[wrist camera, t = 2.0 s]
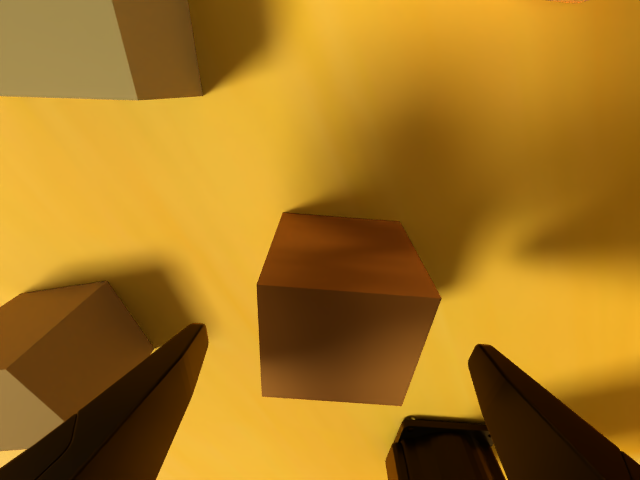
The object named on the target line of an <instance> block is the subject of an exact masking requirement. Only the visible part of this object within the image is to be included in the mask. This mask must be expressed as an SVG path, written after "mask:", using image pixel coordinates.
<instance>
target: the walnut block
mask: <svg viewBox="0 0 640 480" xmlns="http://www.w3.org/2000/svg"><path fill="white" fill-rule="evenodd" d="M440 301H441V297H440V295H439V293H438V291H437V289H436V287H435V285H434V284H433V282H432V280H431V278H430V276H429V274H428V273H427V271H426V269H425V267H424V265H423V263H422V262H421V260H420V258H419V256H418V254H417V252H416V250H415V249H414V247H413V245H412V243H411V241H410V239H409V238H408V236H407V234H406V232H405V230H404V228H403V226H402V225H401V223H400V222H399V221H386V220H373V219H360V218H347V217H334V216H321V215H308V214H295V213H283V214H282V216H281V219H280V222H279V225H278V227H277V230H276V233H275V236H274V238H273V241H272V244H271V247H270V249H269V252H268V255H267V258H266V260H265V263H264V266H263V269H262V271H261V274H260V277H259V280H258V282H257V302H258V323H259V344H260V365H261V386H262V396H263V397H277V398H292V399H306V400H321V401H336V402H350V403H365V404H379V405H394V406H402V404H403V401H404V398H405V396H406V393H407V390H408V387H409V385H410V382H411V379H412V377H413V374H414V371H415V368H416V366H417V363H418V360H419V358H420V355H421V352H422V350H423V347H424V344H425V341H426V339H427V336H428V333H429V331H430V328H431V325H432V323H433V320H434V317H435V314H436V312H437V309H438V306H439V304H440Z"/></svg>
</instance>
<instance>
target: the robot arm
mask: <svg viewBox="0 0 640 480" xmlns="http://www.w3.org/2000/svg"><path fill="white" fill-rule="evenodd" d="M207 348H208V336H207V330H206V326H205V324H203V323H192V324H190V325H188V326H187V327H186V328H184V329H183V330H182V331H181V332H179V333H178V334H177V335H175V336H174V337H173V338H172V339H170V340H169V341H168V342H166V343H165V344H164V345H163V346H161V347H160V348H159V349H157V350H156V351H155V352H154V353H152V354H151V355H150V356H148V357H147V358H146V359H144V360H143V361H142V362H141V363H139V364H138V365H137V366H135V367H134V368H133V369H132V370H130V371H129V372H128V373H126V374H125V375H124V376H123V377H121V378H120V379H119V380H117V381H116V382H115V383H113V384H112V385H111V386H110V387H108V388H107V389H106V390H104V391H103V392H102V393H101V394H99V395H98V396H97V397H95V398H94V399H93V400H92V401H90V402H89V403H88V404H86V405H85V406H84V407H83V408H81V409H80V410H79V411H78V413H75V414H73V415H72V416H71V417H69V418H68V419H67V420H66V421H64V422H63V423H62V424H60V425H59V426H58V427H56V428H55V429H54V430H52V431H51V432H50V433H48V434H47V435H46V436H44V437H43V438H42V439H40V440H39V441H38V442H36V443H35V444H34V445H32V446H31V447H30V448H28V449H27V450H25V451H24V452H23V453H21V454H20V455H18V456H17V457H15V458H14V459H13V460H11V461H10V462H8V463H7V464H6V465H4V466H3V467H1V468H0V480H156V478H157V476H158V473H159V471H160V469H161V467H162V464H163V462H164V460H165V457H166V455H167V453H168V450H169V448H170V446H171V444H172V441H173V439H174V437H175V434H176V432H177V430H178V427H179V425H180V423H181V421H182V418H183V416H184V414H185V411H186V409H187V407H188V405H189V402H190V400H191V397H192V395H193V392H194V389H195V386H196V383H197V380H198V376H199V373H200V370H201V367H202V364H203V361H204V358H205V354H206V351H207ZM468 367H469V371H470V374H471V378H472V381H473V385H474V388H475V391H476V395H477V398H478V402H479V405H480V409H481V412H482V415H483V417H484V420H485V423H486V425H484V424H469V423H455V422H440V421H425V420H405V421H403V422H402V423H401V426H400V428H399V431H398V433H397V436H396V438H395V441H394V443H393V444H392V445H391V448H390V451H389V453H388V456H387V458H386V461H385V462H386V469H387V475H388V480H506V479H505V477H504V475H503V472H502V470H501V468H500V466H499V464H498V461H497V459H496V457H495V455H494V453H493V450H492V448H491V446H492V445H493V444H494V446H495V448H496V451H497V453H498V456H499V458H500V461H501V463H502V466H503V468H504V471H505V473H506V476H507V478H508V480H640V465H639V464H638V463H637V462H636V461H634V460H633V459H632V458H631V457H629V456H628V455H627V454H626V453H624V452H623V451H620V449H619V448H618V447H617V446H616V445H614V444H613V443H612V442H611V441H609V440H608V439H607V438H606V437H604V436H603V435H602V434H601V433H599V432H598V431H597V430H596V429H595V428H593V427H592V426H591V425H590V424H588V423H587V422H586V421H585V420H583V419H582V418H581V417H580V416H578V415H577V414H576V413H575V412H573V411H572V410H571V409H570V408H568V407H567V406H566V405H565V404H563V403H562V402H561V401H560V400H559V399H557V398H556V397H555V396H554V395H552V394H551V393H550V392H549V391H547V390H546V389H545V388H544V387H542V386H541V385H540V384H539V383H537V382H536V381H535V380H534V379H532V378H531V377H530V376H529V375H527V374H526V373H525V372H524V371H522V370H521V369H520V368H519V367H518V366H516V365H515V364H514V363H513V362H511V361H510V360H509V359H508V358H506V357H505V356H504V355H503V354H501V353H500V352H499V351H498V350H496V349H495V348H494V347H493V346H491V345H486V344H477V345H476V346H475V348H474V350H473V352H472V354H471V356H470V358H469V360H468Z"/></svg>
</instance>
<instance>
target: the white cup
mask: <svg viewBox="0 0 640 480" xmlns="http://www.w3.org/2000/svg"><path fill="white" fill-rule="evenodd" d="M548 1H556V2H565V3H574V4H575V3H581V2H584V1H588V0H548Z"/></svg>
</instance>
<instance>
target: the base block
mask: <svg viewBox="0 0 640 480" xmlns="http://www.w3.org/2000/svg"><path fill="white" fill-rule="evenodd" d="M0 96H15V97H47V98H80V99H112V100H150V99H165V98H180V97H195V96H203V93H202V87H201V81H200V74H199V68H198V62H197V55H196V49H195V43H194V37H193V30H192V24H191V18H190V11H189V5H188V0H0Z"/></svg>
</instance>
